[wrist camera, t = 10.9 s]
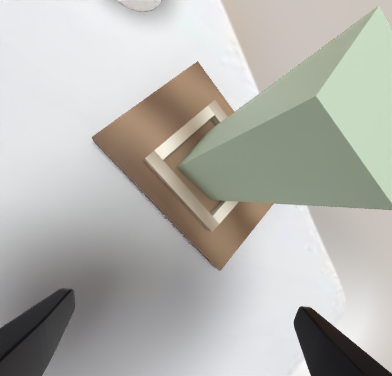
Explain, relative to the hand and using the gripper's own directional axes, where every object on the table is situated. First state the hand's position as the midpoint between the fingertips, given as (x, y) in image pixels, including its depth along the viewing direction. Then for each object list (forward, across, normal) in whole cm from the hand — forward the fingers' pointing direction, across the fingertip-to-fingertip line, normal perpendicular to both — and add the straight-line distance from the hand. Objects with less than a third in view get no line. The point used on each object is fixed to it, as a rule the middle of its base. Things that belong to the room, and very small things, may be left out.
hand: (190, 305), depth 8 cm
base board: (+13, -1, -3) cm, 13 cm away
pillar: (+12, -1, -4) cm, 12 cm away
